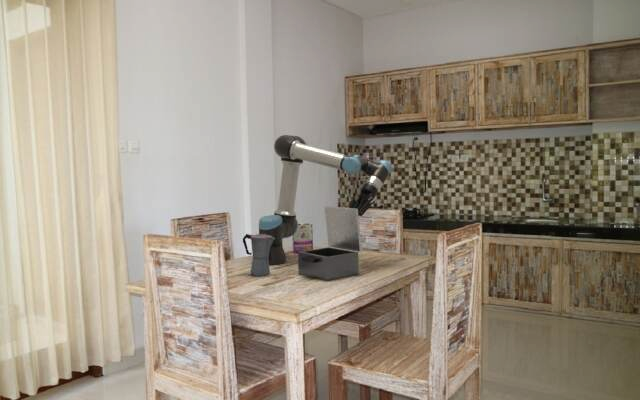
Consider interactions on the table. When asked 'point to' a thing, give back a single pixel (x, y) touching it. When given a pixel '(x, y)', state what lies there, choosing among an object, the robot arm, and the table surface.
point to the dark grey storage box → (328, 263)
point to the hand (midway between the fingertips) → (346, 226)
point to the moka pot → (259, 253)
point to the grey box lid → (343, 228)
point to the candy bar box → (303, 238)
